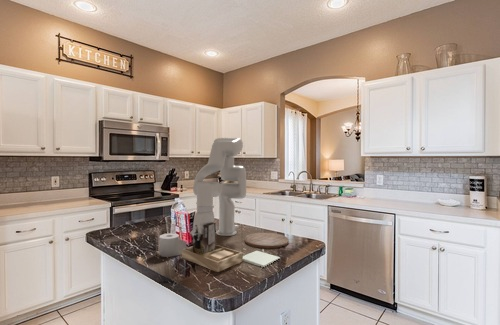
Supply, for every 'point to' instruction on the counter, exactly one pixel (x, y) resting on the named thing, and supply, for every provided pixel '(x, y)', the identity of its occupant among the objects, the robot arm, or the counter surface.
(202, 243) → the coffee box
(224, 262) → the wooden tray
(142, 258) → the counter surface
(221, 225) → the robot arm
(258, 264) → the pad
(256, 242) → the trivet
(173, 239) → the toilet tissue
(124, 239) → the counter surface
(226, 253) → the offcut top
